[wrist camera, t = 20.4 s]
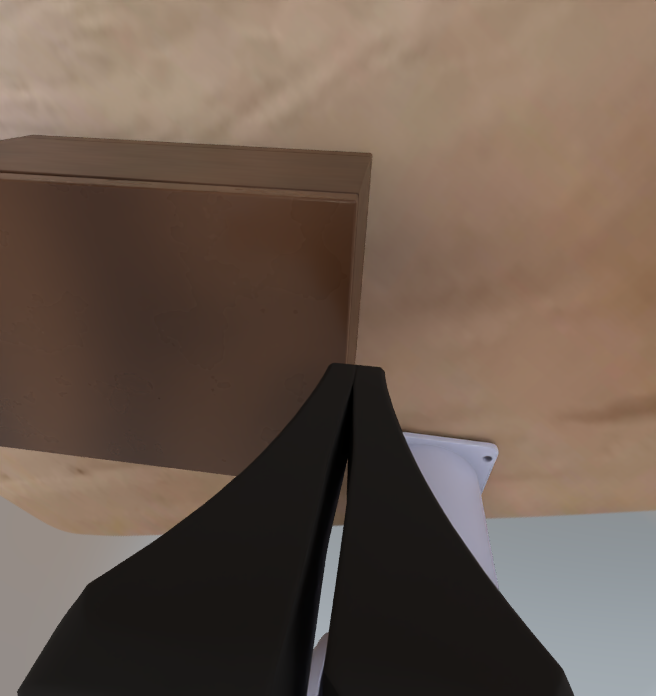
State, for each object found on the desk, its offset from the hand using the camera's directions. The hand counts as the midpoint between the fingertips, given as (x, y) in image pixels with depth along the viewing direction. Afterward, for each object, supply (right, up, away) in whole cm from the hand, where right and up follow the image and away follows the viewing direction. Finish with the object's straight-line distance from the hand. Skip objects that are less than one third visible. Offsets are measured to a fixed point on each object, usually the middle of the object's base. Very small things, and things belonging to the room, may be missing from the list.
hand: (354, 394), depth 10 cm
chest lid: (-8, +1, +4) cm, 9 cm away
